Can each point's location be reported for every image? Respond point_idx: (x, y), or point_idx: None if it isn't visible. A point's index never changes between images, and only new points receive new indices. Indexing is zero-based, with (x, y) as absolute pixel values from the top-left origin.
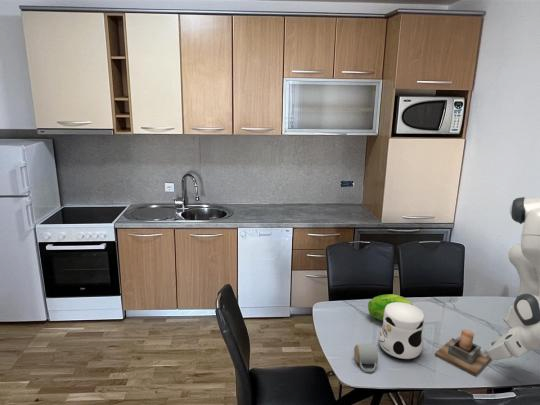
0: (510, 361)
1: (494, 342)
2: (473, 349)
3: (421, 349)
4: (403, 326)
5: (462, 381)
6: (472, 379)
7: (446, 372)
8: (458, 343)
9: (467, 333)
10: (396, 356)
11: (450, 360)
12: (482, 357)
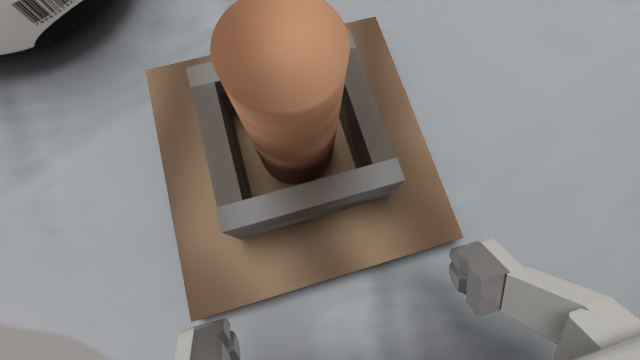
0: None
1: (479, 282)
2: (362, 158)
3: (4, 25)
4: None
5: (81, 316)
6: (158, 330)
7: (75, 214)
8: None
9: (265, 50)
10: None
11: (162, 157)
12: (387, 221)
